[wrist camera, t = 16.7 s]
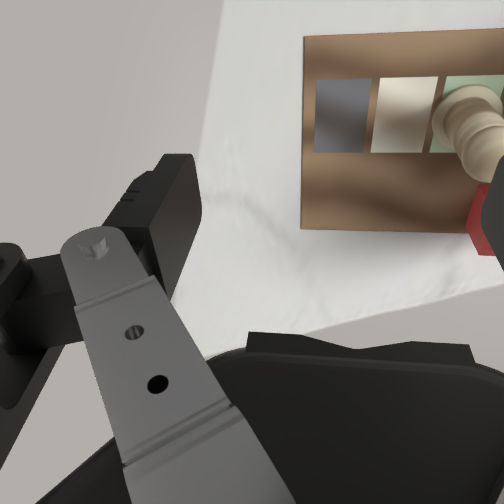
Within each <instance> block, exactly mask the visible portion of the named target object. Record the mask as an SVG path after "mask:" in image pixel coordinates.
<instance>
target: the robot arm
mask: <svg viewBox="0 0 504 504" xmlns="http://www.w3.org/2000/svg"><path fill="white" fill-rule="evenodd" d="M201 216H202V204H201V197H200V191H199V185H198V179H197V173H196V167H195V161H194V158H193V156H192V154H164V155H163V156H162V158H161V159H160V161H159V163H158V164H157V166H156V167H155V169H154V170H153V171H146V172H145V173H143V174H142V175H140V176H139V177H137V178H136V179H134V180H133V182H132V183H131V184H130V186H129V187H128V189H127V190H126V193H124V194H123V196H122V197H121V199H120V201H119V202H118V203H117V204H116V206H115V207H114V209H113V210H112V212H111V213H110V214H109V216H108V217H107V219H106V220H105V222H104V223H103V224H102V226H100V227H93V228H90V229H86V230H83V231H81V232H79V233H77V234H75V235H73V236H72V237H71V238H69V239H68V240H67V241H66V242H65V243H64V244H63V246H62V248H61V250H60V254H56V255H51V256H45V257H40V258H34V259H28V260H27V258H26V257H25V255H24V253H23V251H22V249H21V248H20V247H19V246H18V245H16V244H13V243H0V469H1V468H2V466H3V464H4V462H5V460H6V458H7V456H8V454H9V452H10V450H11V448H12V446H13V444H14V443H15V441H16V439H17V437H18V435H19V433H20V431H21V429H22V427H23V425H24V423H25V421H26V419H27V417H28V416H29V414H30V412H31V409H32V408H33V406H34V404H35V402H36V400H37V398H38V396H39V394H40V392H41V390H42V389H43V387H44V384H45V383H46V381H47V379H48V377H49V375H50V373H51V371H52V369H53V367H54V365H55V363H56V361H57V360H58V358H59V355H60V354H61V352H62V350H63V348H64V346H65V344H70V343H75V342H80V341H84V342H85V345H86V348H87V352H88V354H89V358H90V361H91V364H92V367H93V370H94V374H95V377H96V380H97V383H98V386H99V389H100V393H101V396H102V399H103V402H104V405H105V408H106V411H107V414H108V418H109V421H110V424H111V427H112V430H113V434H114V437H113V438H112V439H110V440H109V441H108V442H107V443H106V444H105V445H103V446H102V447H101V448H100V449H99V450H98V451H96V452H95V453H94V454H93V455H92V456H91V457H89V458H88V459H87V460H86V461H85V462H83V463H82V464H81V465H80V466H79V467H78V468H77V469H75V470H74V471H73V472H72V473H71V474H69V475H68V476H67V477H66V478H65V479H64V480H62V481H61V482H60V483H59V484H58V485H57V486H55V487H54V488H53V489H52V490H51V491H50V492H48V493H47V494H46V495H45V496H44V497H43V498H41V499H40V500H39V501H38V502H37V503H36V504H504V373H502V372H500V371H498V370H495V369H493V368H490V367H487V366H484V365H481V364H478V363H475V360H474V358H473V355H472V352H471V349H470V346H469V345H467V344H466V345H465V344H449V343H432V342H416V341H410V342H404V343H397V344H392V345H384V346H378V347H371V348H365V349H352V348H347V347H343V346H339V345H336V344H333V343H329V342H325V341H322V340H318V339H314V338H311V337H307V336H303V335H298V334H281V333H264V332H249V333H248V339H247V345H246V347H245V348H239V349H235V350H231V351H228V352H225V353H222V354H220V355H217V356H215V357H213V358H211V359H209V360H207V361H205V359H204V358H203V356H202V354H201V353H200V351H199V349H198V347H197V346H196V344H195V342H194V341H193V339H192V337H191V336H190V334H189V332H188V331H187V329H186V327H185V326H184V324H183V322H182V321H181V319H180V317H179V315H178V314H177V312H176V310H175V309H174V307H173V305H172V304H171V302H170V300H171V298H172V295H173V293H174V290H175V287H176V285H177V282H178V280H179V277H180V274H181V272H182V269H183V267H184V264H185V261H186V259H187V256H188V254H189V251H190V248H191V246H192V243H193V241H194V238H195V235H196V233H197V230H198V228H199V225H200V222H201ZM481 227H482V230H483V232H484V234H485V236H486V238H487V240H488V242H489V244H490V246H491V248H492V250H493V252H494V254H495V255H496V257H497V259H498V261H499V263H500V265H501V267H502V269H503V271H504V155H503V156H502V157H501V158H500V160H499V162H498V164H497V167H496V170H495V172H494V175H493V178H492V181H491V184H490V187H489V190H488V192H487V195H486V198H485V201H484V204H483V207H482V210H481Z"/></svg>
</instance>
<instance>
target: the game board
mask: <svg viewBox="0 0 504 504" xmlns="http://www.w3.org/2000/svg"><path fill="white" fill-rule="evenodd" d="M471 84H479V85H483V86H486V87H488V88H490V89H491V90H493V91H494V92H495V93H496V94H497V96H498V97H499V98H500V100H501V102H502V106H503V114H502V118H503V119H504V28H495V29H470V30H445V31H420V32H395V33H370V34H345V35H320V36H305V56H304V109H303V161H302V214H301V229H311V230H353V231H394V232H436V233H468V231H467V229H466V227H465V224H466V221H467V218H468V215H469V212H470V209H471V206H472V203H473V200H474V197H475V194H476V191H477V188H478V185H490V184H491V183H488V182H481V181H478V180H476V179H474V178H472V177H471V176H470V175H469V174H467V172H466V171H465V169H464V167H463V165H462V161H461V160H460V158H459V156H458V155H457V153H456V151H455V149H451V148H448V147H446V146H444V145H442V144H441V143H440V142H439V141H438V140H437V138H436V136H435V134H434V132H433V130H432V116H433V112H434V110H435V108H436V106H437V105H438V103H439V102H440V101H441V100H442V99H443V98H444V97H445V96H446V95H447V94H448V93H450V92H451V91H453V90H455V89H457V88H459V87H462V86H465V85H471Z"/></svg>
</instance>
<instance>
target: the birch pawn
mask: <svg viewBox="0 0 504 504" xmlns="http://www.w3.org/2000/svg"><path fill="white" fill-rule="evenodd" d="M502 114H503V106H502V102H501V100H500V98H499V97H498V96H497V94H496V93H495V92H494V91H493V90H491V89H490V88H488V87H486V86H483V85H479V84H471V85H465V86H462V87H459V88H457V89H455V90H453V91H451V92H450V93H448V94H447V95H446V96H445V97H444V98H443V99H442V100H441V101H440V102H439V103H438V105H437V106H436V108H435V110H434V112H433V116H432V130H433V132H434V134H435V136H436V138H437V140H438V141H439V142H440V143H441V144H442V145H444V146H446V147H448V148H451V149H455V151H456V153H457V155H458V156H459V158H460V160H461V161H462V165H463V167H464V169H465V171H466V172H467V174H469V175H470V176H471V177H472V178H474V179H476V180H478V181H481V182H488V183H491V181H492V178H493V175H494V172H495V170H496V167H497V164H498V162H499V160H500V158H501V157H502V156H503V155H504V119H503V118H502Z"/></svg>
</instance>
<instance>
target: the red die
mask: <svg viewBox="0 0 504 504" xmlns="http://www.w3.org/2000/svg"><path fill="white" fill-rule="evenodd" d="M489 187H490V185H478V188H477V191H476V194H475V197H474V200H473V203H472V206H471V209H470V212H469V215H468V218H467V221H466V224H465V227H466V229H467V231H468V233H469V235H470V237H471V239H472V242H473V244H474V246H475V248H476V250H477V252H478V254H479V255H483V256H496V255H495V254H494V252H493V250H492V248H491V246H490V244H489V242H488V240H487V238H486V236H485V234H484V232H483V230H482V227H481V210H482V207H483V204H484V201H485V198H486V195H487V192H488V190H489Z"/></svg>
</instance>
